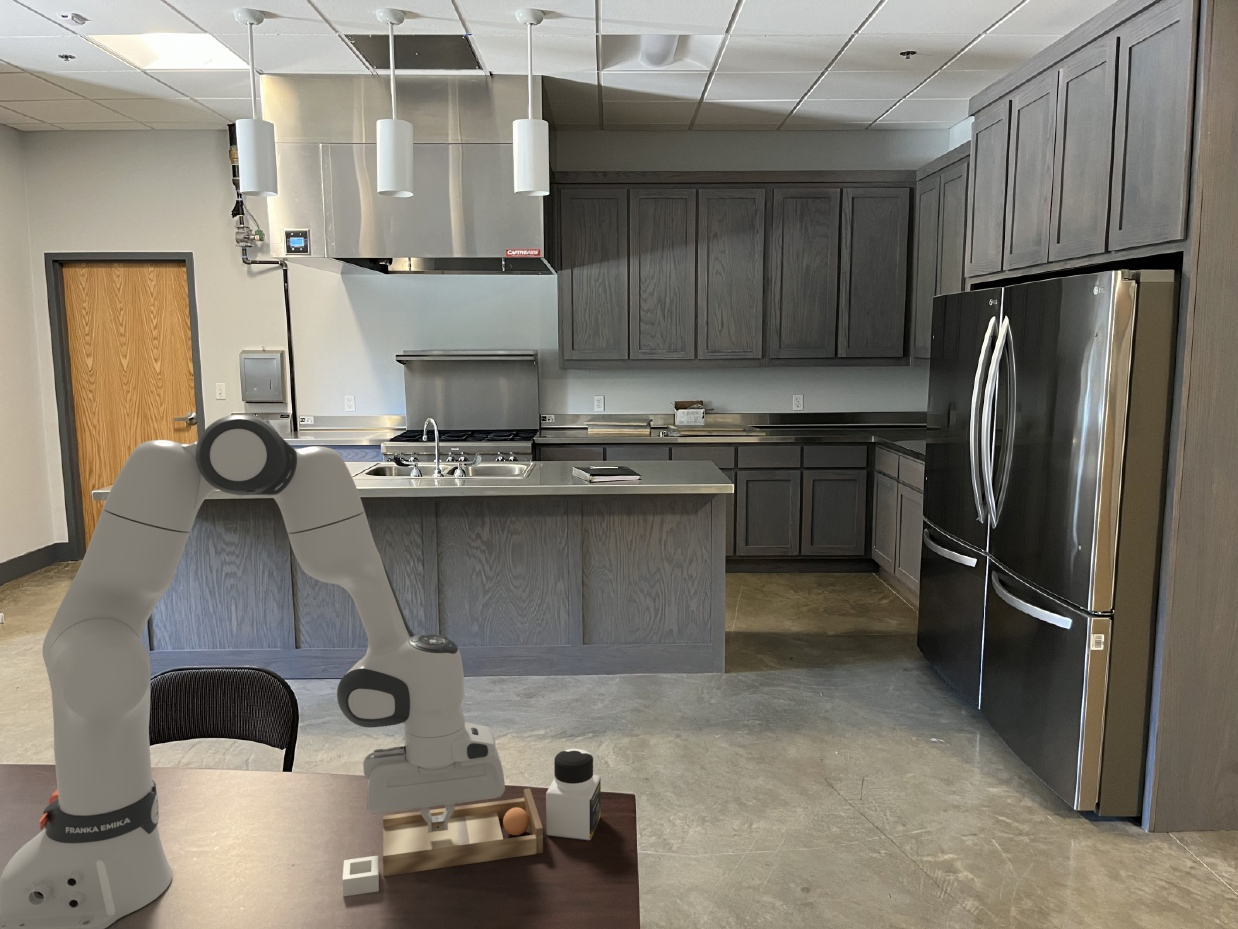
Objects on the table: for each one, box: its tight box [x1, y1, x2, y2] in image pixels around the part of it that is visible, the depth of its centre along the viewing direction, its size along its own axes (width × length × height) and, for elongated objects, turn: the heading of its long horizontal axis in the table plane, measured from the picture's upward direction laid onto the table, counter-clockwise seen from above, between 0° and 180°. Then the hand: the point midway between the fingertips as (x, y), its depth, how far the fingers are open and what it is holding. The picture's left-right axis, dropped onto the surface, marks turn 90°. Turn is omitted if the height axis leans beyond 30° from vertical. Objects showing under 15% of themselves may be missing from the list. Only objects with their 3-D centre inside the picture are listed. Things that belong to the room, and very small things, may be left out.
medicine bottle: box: [545, 748, 602, 841], centre depth 137 cm, size 7×7×12 cm
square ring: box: [342, 855, 380, 898], centre depth 122 cm, size 5×5×2 cm
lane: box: [382, 787, 544, 877], centre depth 133 cm, size 23×12×4 cm, turn 105°
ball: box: [502, 808, 529, 836], centre depth 135 cm, size 4×4×4 cm
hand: (437, 829), depth 132 cm, fingers closed
